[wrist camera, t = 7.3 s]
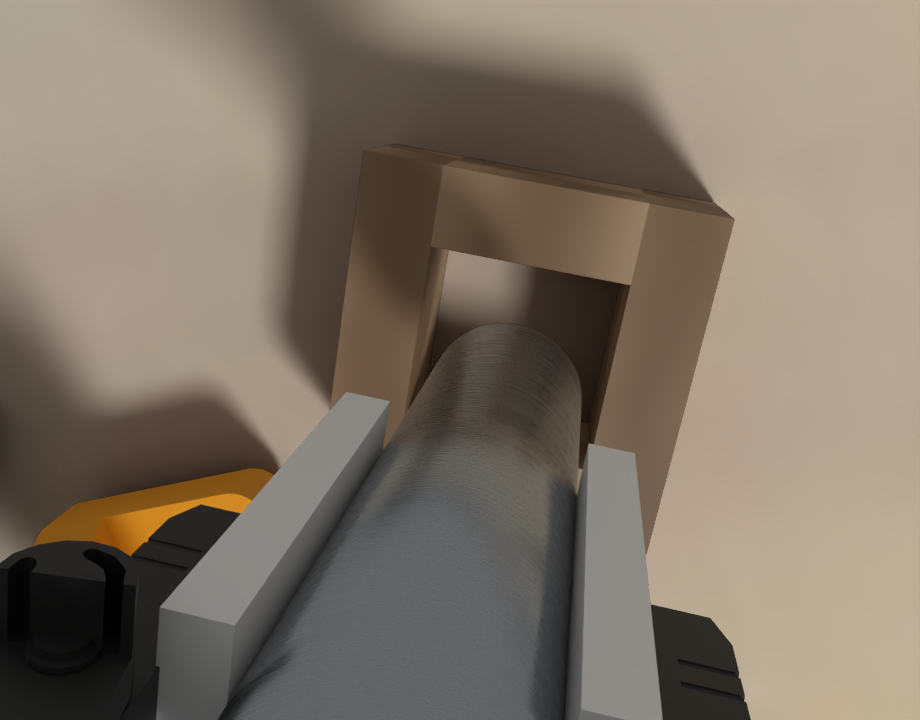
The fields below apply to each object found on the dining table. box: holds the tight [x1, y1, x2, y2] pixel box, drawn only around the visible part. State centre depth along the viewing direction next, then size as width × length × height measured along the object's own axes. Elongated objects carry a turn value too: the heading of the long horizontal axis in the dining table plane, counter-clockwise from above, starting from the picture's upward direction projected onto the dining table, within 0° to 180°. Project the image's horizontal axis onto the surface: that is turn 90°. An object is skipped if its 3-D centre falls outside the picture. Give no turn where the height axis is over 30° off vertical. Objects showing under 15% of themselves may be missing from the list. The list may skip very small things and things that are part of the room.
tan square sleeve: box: [330, 144, 735, 554], centre depth 24 cm, size 9×9×4 cm
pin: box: [218, 323, 582, 720], centre depth 13 cm, size 3×3×14 cm
